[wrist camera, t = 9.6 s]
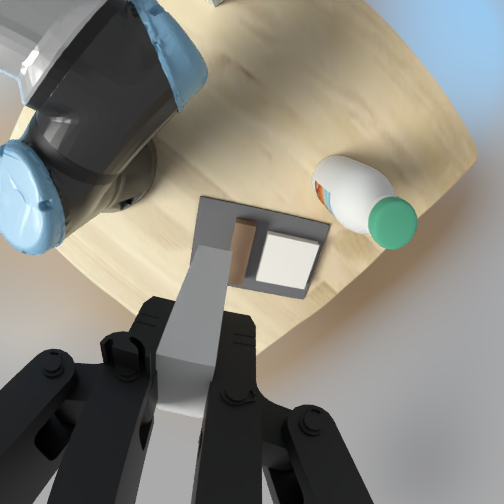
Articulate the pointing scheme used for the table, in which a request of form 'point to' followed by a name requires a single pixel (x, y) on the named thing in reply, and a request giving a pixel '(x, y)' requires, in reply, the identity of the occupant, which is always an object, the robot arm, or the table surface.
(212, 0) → the small box
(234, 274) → the block
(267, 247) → the tile
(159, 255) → the table surface
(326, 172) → the milk bottle
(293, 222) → the mat
